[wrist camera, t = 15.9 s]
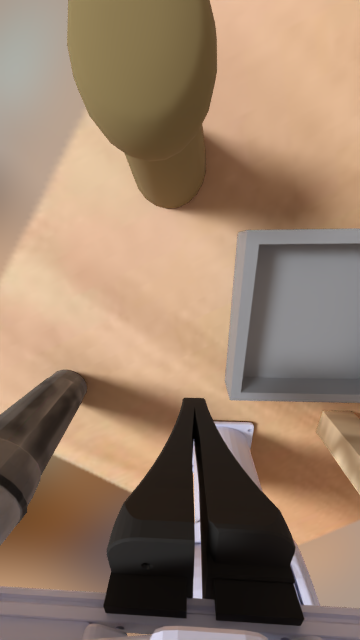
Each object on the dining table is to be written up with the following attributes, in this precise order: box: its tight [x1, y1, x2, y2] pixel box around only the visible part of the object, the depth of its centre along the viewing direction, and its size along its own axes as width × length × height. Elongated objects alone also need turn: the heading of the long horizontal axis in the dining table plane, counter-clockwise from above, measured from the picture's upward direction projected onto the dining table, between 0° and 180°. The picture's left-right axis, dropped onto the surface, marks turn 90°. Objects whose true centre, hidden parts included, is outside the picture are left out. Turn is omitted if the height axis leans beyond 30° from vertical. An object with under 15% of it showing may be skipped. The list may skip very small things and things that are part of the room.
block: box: [316, 411, 360, 495], centre depth 21 cm, size 4×4×7 cm
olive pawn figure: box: [67, 0, 217, 208], centre depth 11 cm, size 6×6×11 cm
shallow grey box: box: [225, 229, 360, 403], centre depth 18 cm, size 16×22×3 cm
